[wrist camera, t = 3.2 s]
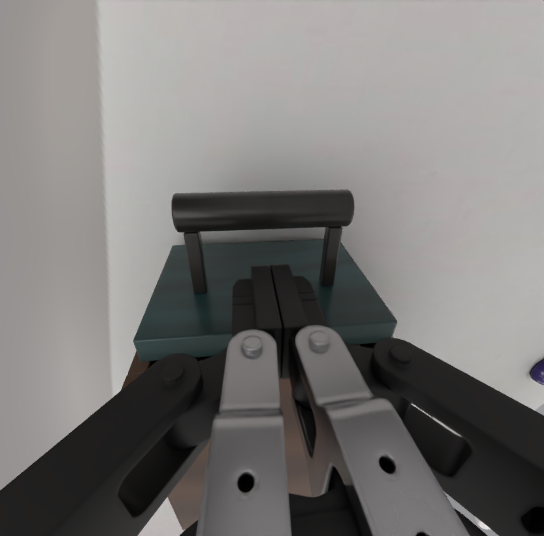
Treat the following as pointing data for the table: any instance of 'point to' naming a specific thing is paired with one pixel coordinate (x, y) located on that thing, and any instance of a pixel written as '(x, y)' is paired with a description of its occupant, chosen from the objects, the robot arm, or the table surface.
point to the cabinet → (191, 484)
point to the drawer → (241, 256)
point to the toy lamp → (538, 373)
